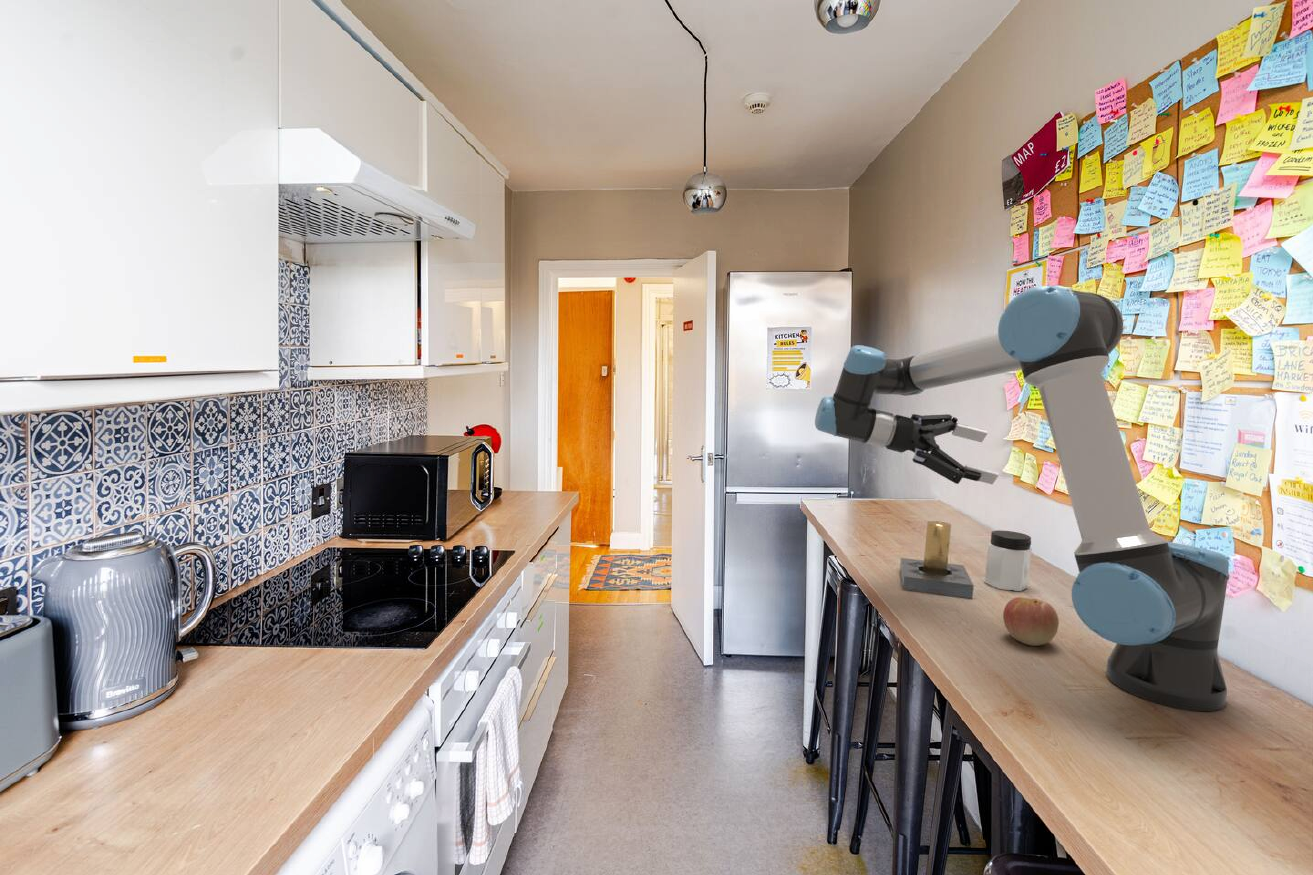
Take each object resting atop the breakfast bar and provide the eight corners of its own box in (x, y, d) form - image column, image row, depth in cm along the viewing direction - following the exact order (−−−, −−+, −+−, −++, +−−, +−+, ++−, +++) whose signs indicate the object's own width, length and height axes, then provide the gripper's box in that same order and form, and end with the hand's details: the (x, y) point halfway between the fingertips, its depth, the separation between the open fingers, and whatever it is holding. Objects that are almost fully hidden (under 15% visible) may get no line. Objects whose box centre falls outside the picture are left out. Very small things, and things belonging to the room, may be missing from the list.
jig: (972, 598, 146) (973, 585, 146) (903, 589, 150) (904, 576, 150) (962, 577, 161) (963, 565, 161) (899, 569, 165) (900, 557, 165)
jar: (1018, 594, 151) (1023, 541, 149) (980, 584, 157) (985, 533, 155) (1031, 586, 157) (1037, 535, 156) (994, 577, 163) (999, 528, 161)
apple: (1023, 652, 118) (1028, 608, 118) (990, 632, 127) (994, 591, 126) (1067, 651, 120) (1072, 607, 119) (1031, 631, 129) (1035, 590, 128)
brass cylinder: (946, 588, 152) (952, 527, 151) (922, 585, 154) (928, 524, 152) (944, 581, 157) (949, 522, 156) (921, 578, 159) (926, 520, 157)
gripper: (880, 410, 155) (972, 433, 154) (886, 483, 136) (991, 510, 135) (893, 384, 150) (988, 408, 149) (900, 456, 131) (1009, 484, 130)
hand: (989, 457), depth 142 cm, fingers open, 13 cm apart
